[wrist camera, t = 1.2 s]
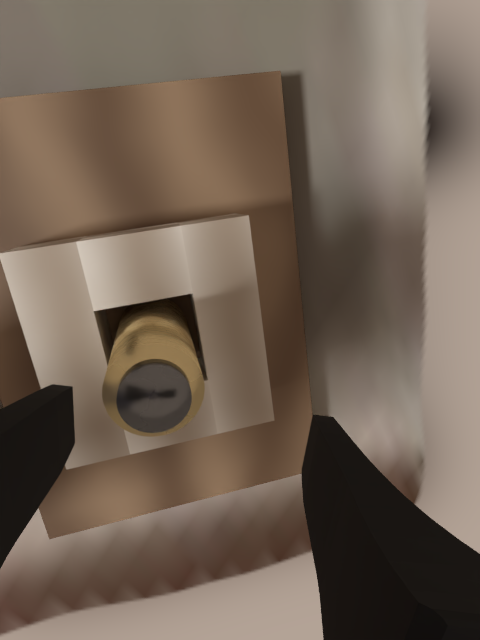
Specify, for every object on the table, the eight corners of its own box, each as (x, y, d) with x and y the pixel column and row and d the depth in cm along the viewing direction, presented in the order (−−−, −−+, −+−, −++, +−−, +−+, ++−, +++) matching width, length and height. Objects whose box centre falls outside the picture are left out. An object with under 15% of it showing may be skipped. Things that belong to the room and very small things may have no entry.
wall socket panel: (55, 519, 24) (35, 586, 20) (-82, 115, 18) (-155, 87, 14) (308, 455, 27) (338, 502, 23) (271, 80, 20) (303, 47, 16)
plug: (127, 365, 21) (113, 457, 14) (112, 302, 20) (87, 362, 12) (192, 352, 22) (214, 432, 14) (180, 289, 21) (197, 341, 13)
